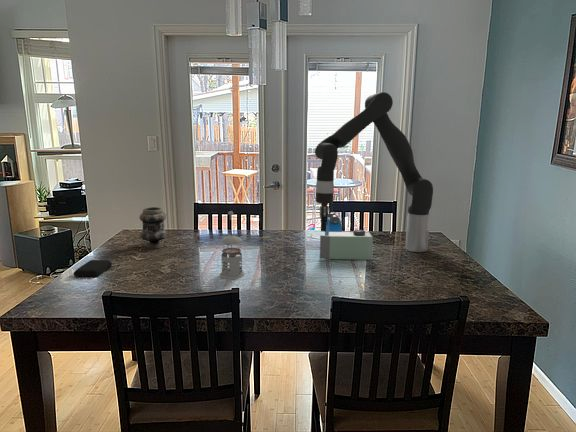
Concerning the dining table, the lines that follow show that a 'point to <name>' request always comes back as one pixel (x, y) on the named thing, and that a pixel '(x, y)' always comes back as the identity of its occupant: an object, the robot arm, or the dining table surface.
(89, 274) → the carrying case or bag
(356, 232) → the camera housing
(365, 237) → the side door
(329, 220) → the alarm clock
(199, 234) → the dining table surface
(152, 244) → the apothecary jar
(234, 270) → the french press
